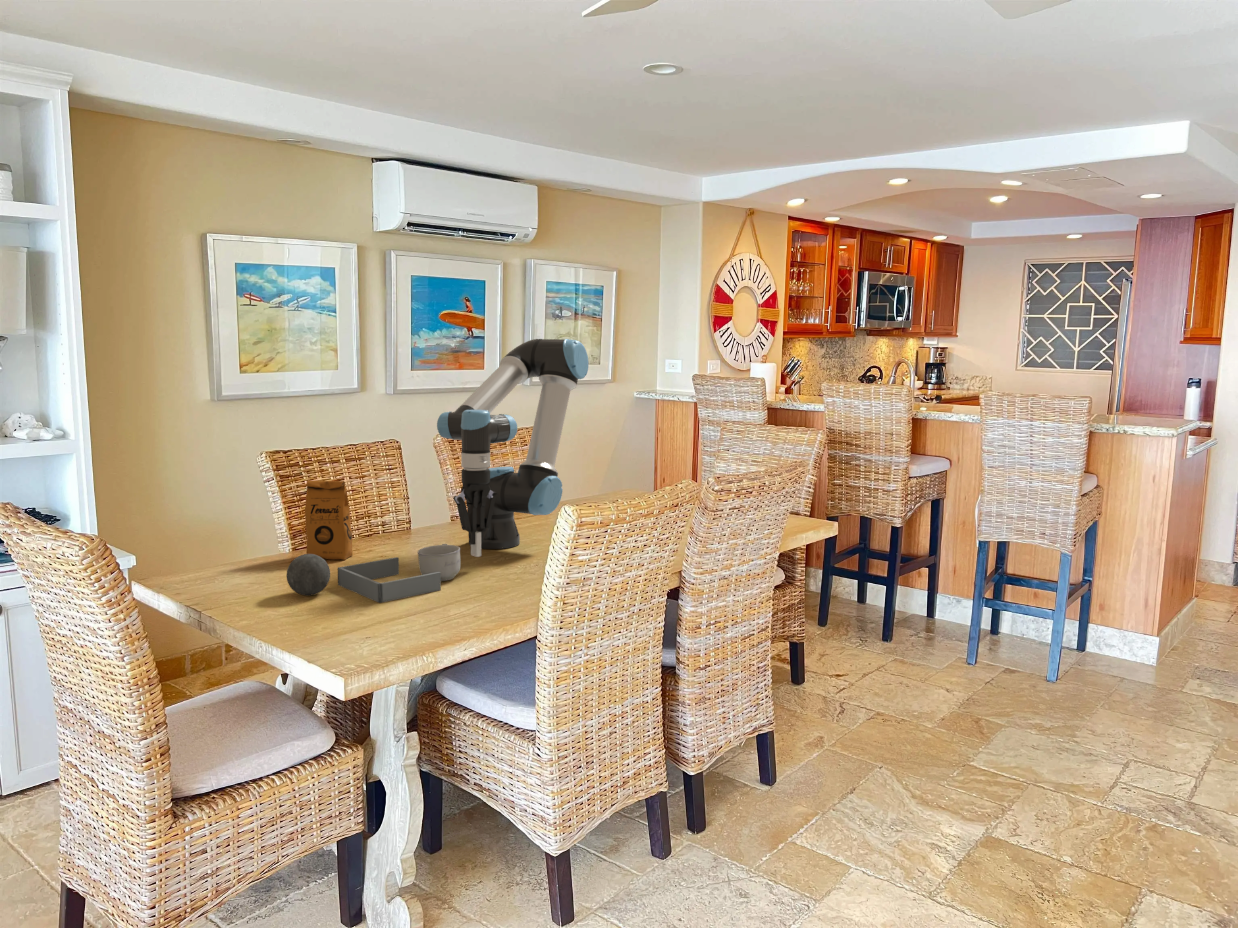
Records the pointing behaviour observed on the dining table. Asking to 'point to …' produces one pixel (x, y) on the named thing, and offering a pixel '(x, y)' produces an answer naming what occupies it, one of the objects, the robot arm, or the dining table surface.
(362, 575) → the box
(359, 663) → the dining table surface
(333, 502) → the coffee package
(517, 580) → the dining table surface
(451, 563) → the teacup
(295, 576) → the decorative ball
